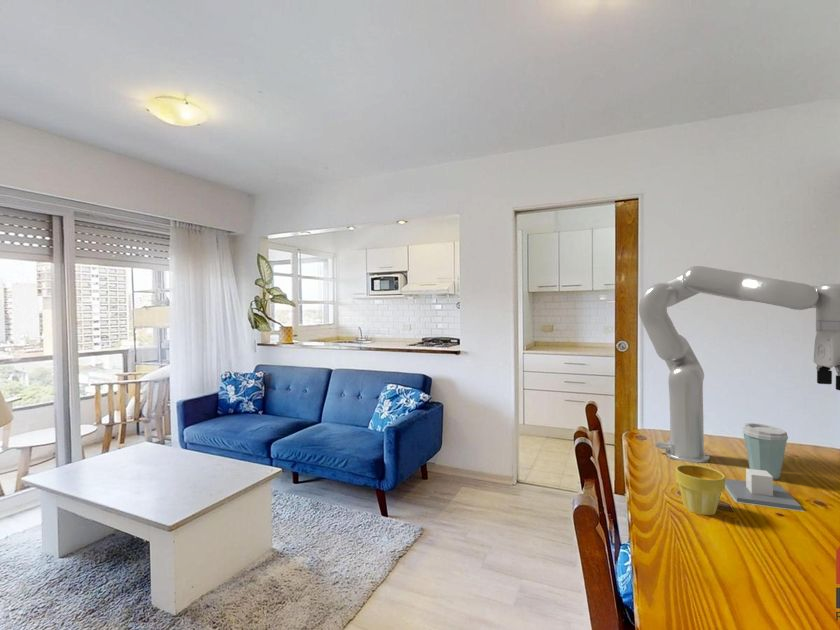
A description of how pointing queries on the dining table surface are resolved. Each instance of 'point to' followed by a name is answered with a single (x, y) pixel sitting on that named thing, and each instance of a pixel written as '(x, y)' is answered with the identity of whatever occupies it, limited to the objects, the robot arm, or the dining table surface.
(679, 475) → the plant pot
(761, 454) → the disposable coffee cup
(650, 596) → the dining table surface
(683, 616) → the dining table surface
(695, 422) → the robot arm
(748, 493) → the lid
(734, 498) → the mat
